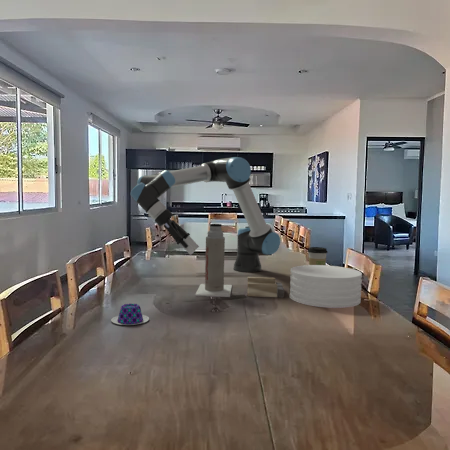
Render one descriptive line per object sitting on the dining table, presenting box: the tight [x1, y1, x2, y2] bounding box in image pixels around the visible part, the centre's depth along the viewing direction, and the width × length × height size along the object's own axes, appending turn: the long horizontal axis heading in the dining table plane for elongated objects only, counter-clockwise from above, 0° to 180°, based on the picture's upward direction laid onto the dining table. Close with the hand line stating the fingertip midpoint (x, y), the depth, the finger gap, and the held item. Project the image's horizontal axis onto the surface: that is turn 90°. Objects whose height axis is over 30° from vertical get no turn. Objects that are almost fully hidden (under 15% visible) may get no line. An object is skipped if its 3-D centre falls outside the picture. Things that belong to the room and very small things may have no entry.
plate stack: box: [289, 264, 363, 309], centre depth 172 cm, size 28×28×12 cm
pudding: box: [110, 303, 150, 326], centre depth 137 cm, size 12×12×5 cm
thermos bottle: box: [204, 223, 226, 291], centre depth 180 cm, size 8×8×28 cm
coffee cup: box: [307, 246, 329, 265], centre depth 215 cm, size 10×10×15 cm
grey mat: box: [195, 283, 233, 298], centre depth 181 cm, size 20×14×1 cm
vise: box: [246, 276, 285, 298], centre depth 180 cm, size 15×15×5 cm
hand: (195, 250), depth 180 cm, fingers open, 13 cm apart
